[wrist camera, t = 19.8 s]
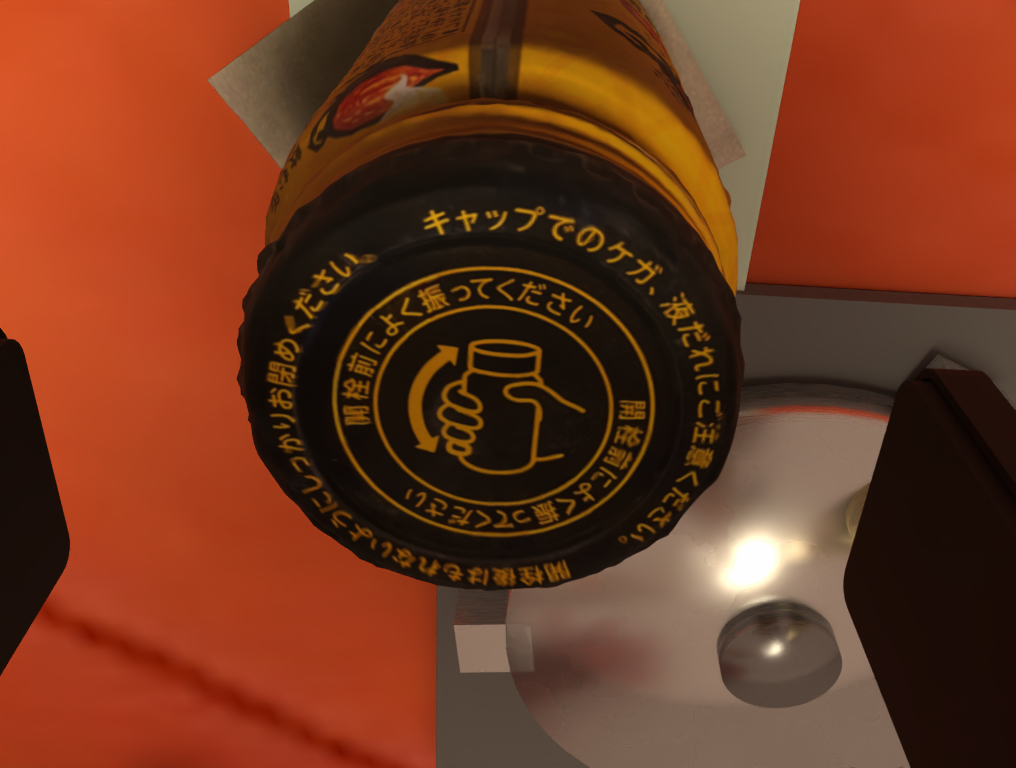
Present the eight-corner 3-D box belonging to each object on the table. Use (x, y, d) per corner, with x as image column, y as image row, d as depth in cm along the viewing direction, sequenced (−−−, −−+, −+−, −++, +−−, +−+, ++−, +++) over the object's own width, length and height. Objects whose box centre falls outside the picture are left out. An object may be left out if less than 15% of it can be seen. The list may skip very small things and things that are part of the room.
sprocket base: (981, 791, 32) (988, 808, 31) (438, 756, 32) (435, 772, 32) (1219, 310, 22) (1235, 322, 22) (440, 265, 23) (437, 277, 22)
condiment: (745, 151, 20) (940, 513, 10) (419, 340, 23) (309, 778, 13) (562, -187, 17) (574, -165, 7) (211, 75, 20) (-154, 368, 10)
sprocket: (1218, 492, 24) (1461, 758, 17) (816, 839, 32) (880, 1106, 26) (683, 229, 21) (739, 435, 14) (391, 688, 29) (343, 948, 23)
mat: (730, 339, 23) (733, 347, 23) (316, 314, 23) (312, 323, 23) (832, -194, 17) (838, -193, 17) (277, -222, 17) (271, -222, 17)
